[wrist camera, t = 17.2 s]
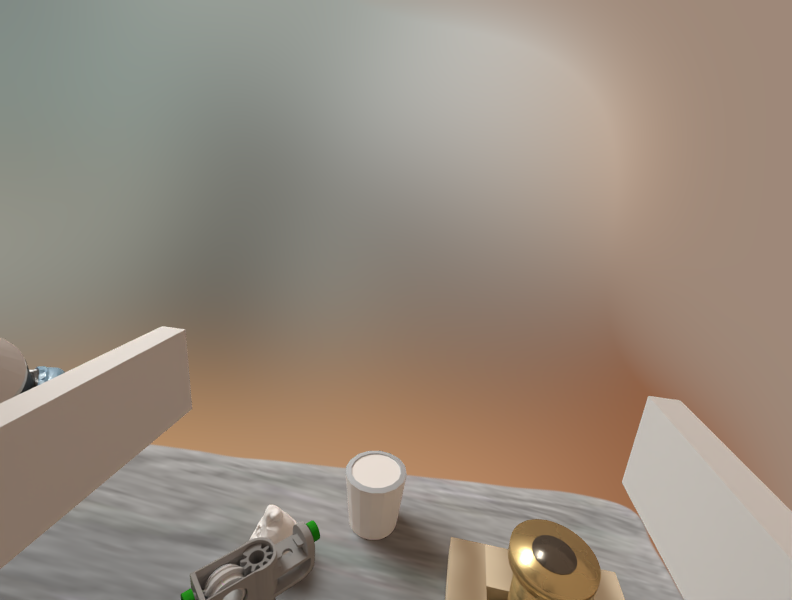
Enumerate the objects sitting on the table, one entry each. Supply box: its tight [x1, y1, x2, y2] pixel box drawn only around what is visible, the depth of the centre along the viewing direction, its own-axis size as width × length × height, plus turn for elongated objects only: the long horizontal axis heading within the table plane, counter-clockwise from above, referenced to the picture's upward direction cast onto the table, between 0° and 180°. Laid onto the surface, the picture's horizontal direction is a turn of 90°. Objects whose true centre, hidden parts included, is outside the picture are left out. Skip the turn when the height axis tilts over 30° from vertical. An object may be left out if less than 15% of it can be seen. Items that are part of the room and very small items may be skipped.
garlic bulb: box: [250, 505, 297, 555], centre depth 40 cm, size 6×6×5 cm
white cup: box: [346, 451, 407, 540], centre depth 45 cm, size 7×7×7 cm
